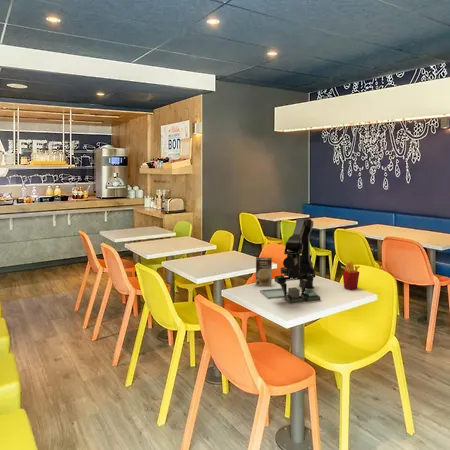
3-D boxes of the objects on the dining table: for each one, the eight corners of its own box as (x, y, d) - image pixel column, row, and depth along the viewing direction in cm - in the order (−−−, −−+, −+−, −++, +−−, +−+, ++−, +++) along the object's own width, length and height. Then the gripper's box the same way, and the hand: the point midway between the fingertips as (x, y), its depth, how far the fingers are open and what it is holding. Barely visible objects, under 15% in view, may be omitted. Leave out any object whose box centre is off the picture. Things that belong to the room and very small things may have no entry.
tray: (282, 290, 238) (282, 287, 238) (291, 297, 225) (291, 294, 225) (259, 292, 235) (259, 290, 235) (268, 300, 222) (268, 297, 222)
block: (295, 298, 221) (295, 287, 220) (299, 301, 216) (299, 290, 215) (288, 299, 220) (288, 287, 219) (292, 302, 215) (292, 290, 214)
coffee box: (255, 287, 246) (255, 259, 243) (255, 284, 252) (255, 257, 250) (271, 287, 245) (271, 259, 243) (271, 284, 251) (271, 257, 249)
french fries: (359, 289, 238) (360, 262, 236) (348, 291, 235) (348, 264, 233) (348, 285, 246) (349, 259, 244) (337, 287, 243) (337, 261, 241)
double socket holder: (314, 297, 225) (315, 288, 224) (322, 302, 217) (322, 292, 216) (282, 300, 221) (282, 291, 220) (288, 305, 213) (288, 295, 212)
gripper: (304, 259, 225) (304, 289, 227) (270, 262, 221) (270, 292, 223) (314, 264, 214) (313, 295, 217) (278, 267, 210) (278, 298, 212)
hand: (293, 294), depth 217 cm, fingers open, 9 cm apart
